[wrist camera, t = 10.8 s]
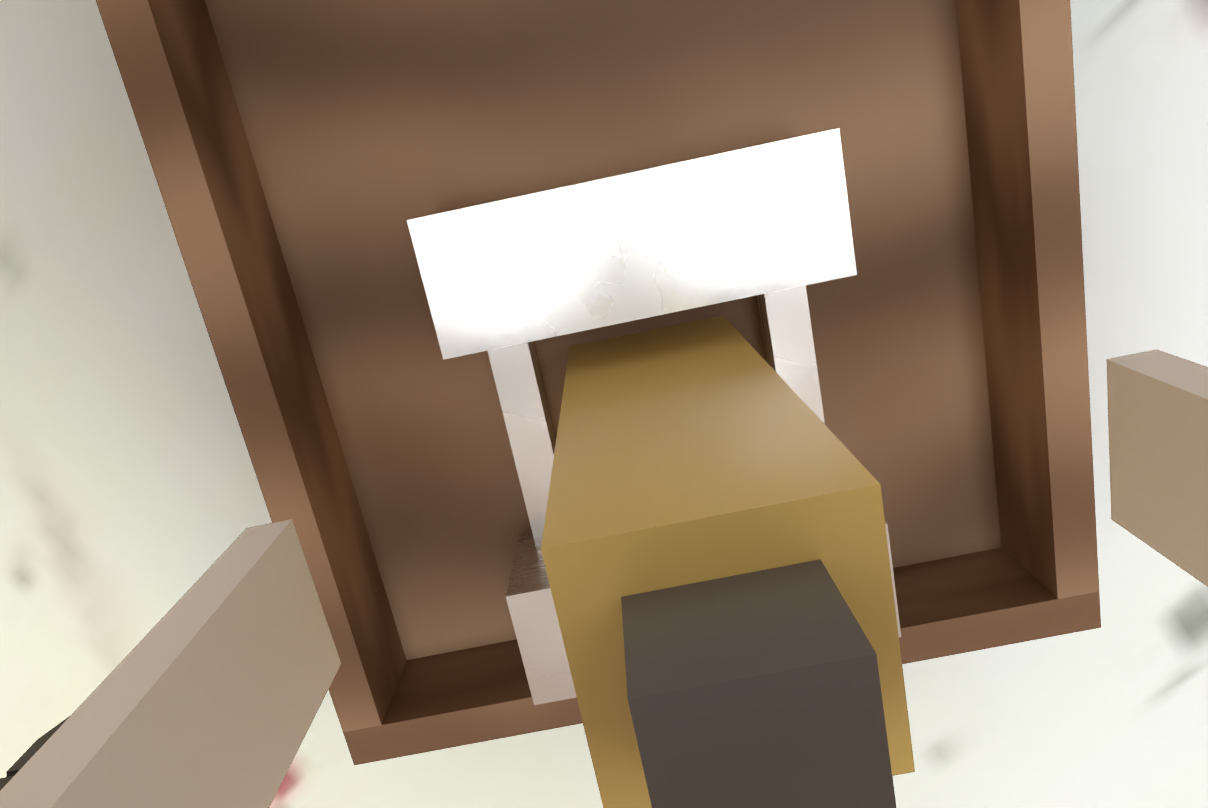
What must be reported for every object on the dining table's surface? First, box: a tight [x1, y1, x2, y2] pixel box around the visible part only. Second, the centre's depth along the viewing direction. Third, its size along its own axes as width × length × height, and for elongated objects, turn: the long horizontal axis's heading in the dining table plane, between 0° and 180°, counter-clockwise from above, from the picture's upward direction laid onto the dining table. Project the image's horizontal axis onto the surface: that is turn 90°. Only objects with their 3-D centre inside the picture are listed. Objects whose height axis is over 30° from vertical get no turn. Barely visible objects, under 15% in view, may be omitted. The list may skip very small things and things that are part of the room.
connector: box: [541, 315, 915, 808], centre depth 15 cm, size 4×4×14 cm
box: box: [96, 0, 1101, 765], centre depth 20 cm, size 20×19×4 cm
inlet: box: [407, 128, 901, 705], centre depth 20 cm, size 12×9×3 cm
